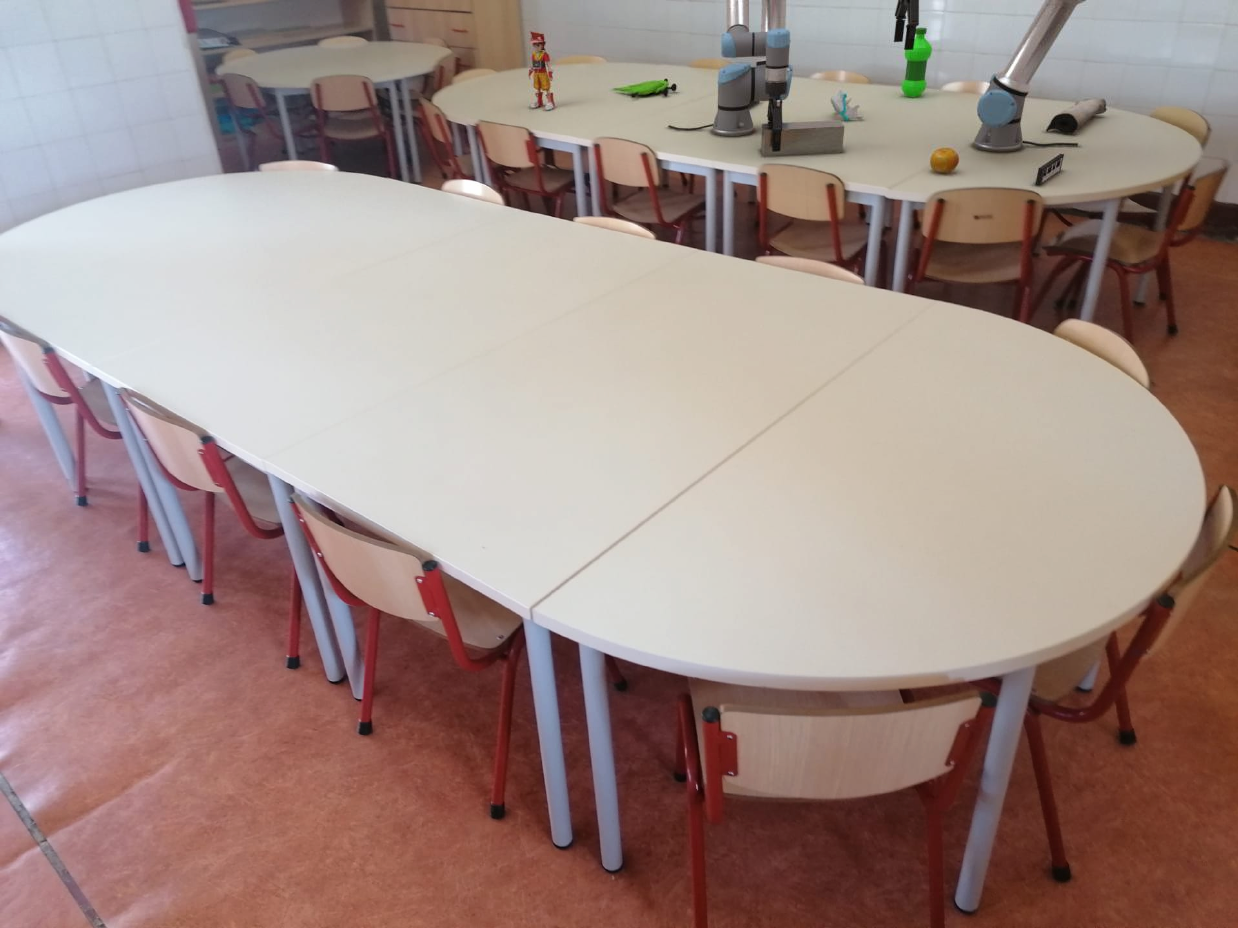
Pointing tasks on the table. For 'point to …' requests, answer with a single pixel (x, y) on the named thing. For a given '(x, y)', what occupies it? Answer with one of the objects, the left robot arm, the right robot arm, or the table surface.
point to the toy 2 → (648, 88)
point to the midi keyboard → (1049, 169)
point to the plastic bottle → (916, 65)
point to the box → (805, 138)
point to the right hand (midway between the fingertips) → (903, 46)
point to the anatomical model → (845, 107)
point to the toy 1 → (541, 71)
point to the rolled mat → (1077, 115)
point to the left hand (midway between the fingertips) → (773, 146)
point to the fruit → (944, 160)
